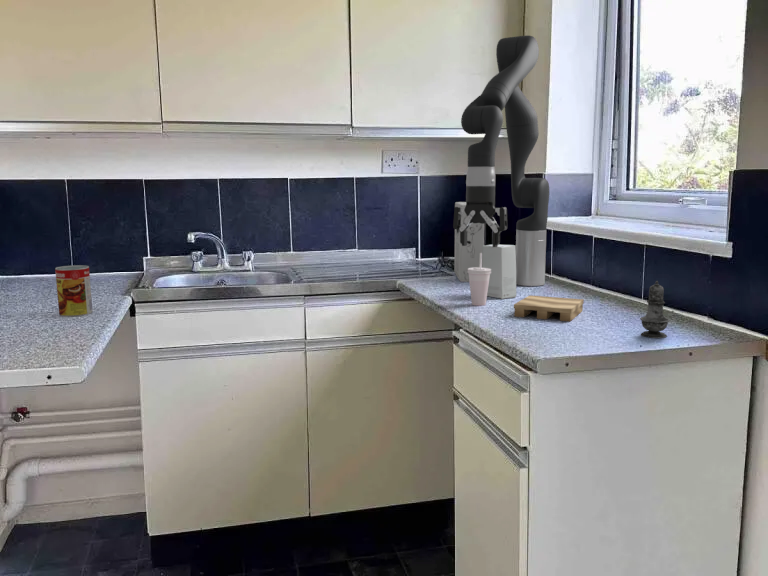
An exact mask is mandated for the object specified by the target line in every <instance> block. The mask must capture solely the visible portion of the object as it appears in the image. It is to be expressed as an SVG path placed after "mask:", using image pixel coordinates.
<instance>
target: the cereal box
mask: <svg viewBox="0 0 768 576" xmlns="http://www.w3.org/2000/svg"><path fill="white" fill-rule="evenodd" d="M458 206H460V207H466V201H456V202H455V203H454V208H455V207H458ZM467 217H468V216H467V215H466V213H465V211H464V213H463V215H461V226H462V224H463V222H464V221H465V220H466V218H467ZM466 232H467V246H462V244H461V243H460V231H459V230H457V229H454V260H453V261H454V263H453V264H454V266H453V267H454V269H453V270H454V271H453V272H454V274H455V275H456V277H457V278H458V280H459V282H460V283H469V274H468V273H467V270H468V268H474V267H480V253H482V246H485V224H481V223H472V224H471V225H470V226H469V227H468V229H467V230H466ZM482 267H483V254H482Z"/></svg>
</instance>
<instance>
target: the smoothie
mask: <svg viewBox="0 0 768 576" xmlns="http://www.w3.org/2000/svg"><path fill="white" fill-rule="evenodd" d="M467 273H468V274H469V282H468V284H469V290H470V300H471V301H470V302H471V305H472V306H477V307H478V306H479V307H482V306H486V305H487V299H488V296H487V292H488V285H489V278H490V273H491V269H490V268H483V267H482V253H480V267H474V268H468V270H467Z"/></svg>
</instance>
